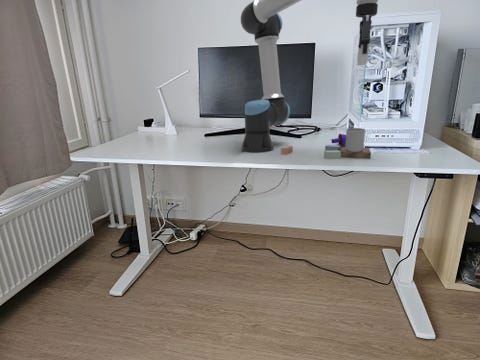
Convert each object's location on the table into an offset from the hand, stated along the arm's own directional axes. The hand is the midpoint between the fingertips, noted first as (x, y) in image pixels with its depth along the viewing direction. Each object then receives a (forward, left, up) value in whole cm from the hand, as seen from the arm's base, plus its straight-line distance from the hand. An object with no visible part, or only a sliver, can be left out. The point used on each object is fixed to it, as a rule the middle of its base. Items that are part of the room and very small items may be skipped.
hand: (361, 64), depth 124 cm
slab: (0, 0, -37) cm, 37 cm away
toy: (-10, +19, -35) cm, 41 cm away
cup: (0, 0, -34) cm, 34 cm away
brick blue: (-9, +6, -37) cm, 38 cm away
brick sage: (-9, -6, -37) cm, 38 cm away
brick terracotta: (-29, 0, -37) cm, 47 cm away
